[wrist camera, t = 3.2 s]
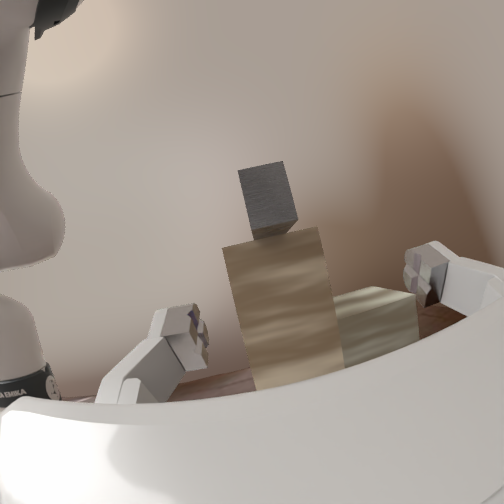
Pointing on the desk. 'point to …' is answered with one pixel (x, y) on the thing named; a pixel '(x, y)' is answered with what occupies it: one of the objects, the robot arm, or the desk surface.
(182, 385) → the desk surface
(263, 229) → the bar
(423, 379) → the robot arm
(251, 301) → the stepped stand
